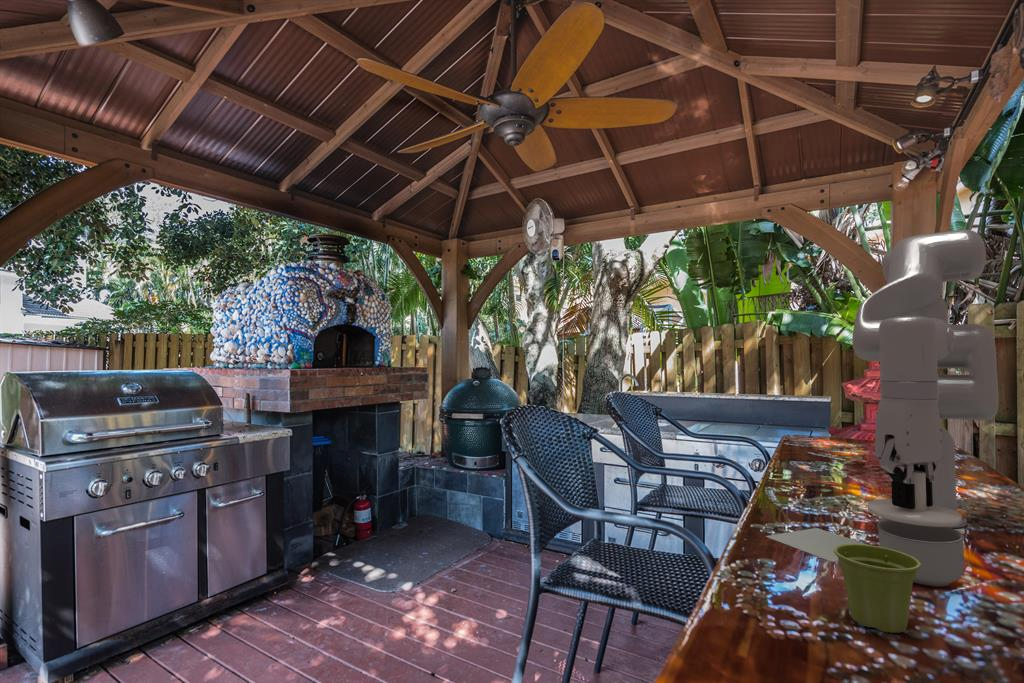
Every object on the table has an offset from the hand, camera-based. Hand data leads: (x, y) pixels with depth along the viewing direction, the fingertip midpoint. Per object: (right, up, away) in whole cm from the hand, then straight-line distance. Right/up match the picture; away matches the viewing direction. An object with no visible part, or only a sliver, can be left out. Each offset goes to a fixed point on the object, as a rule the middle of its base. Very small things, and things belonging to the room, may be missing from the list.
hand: (912, 504), depth 84 cm
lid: (0, -2, 0) cm, 2 cm away
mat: (-7, -12, +13) cm, 19 cm away
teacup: (0, -11, 0) cm, 11 cm away
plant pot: (-17, -11, -16) cm, 25 cm away
